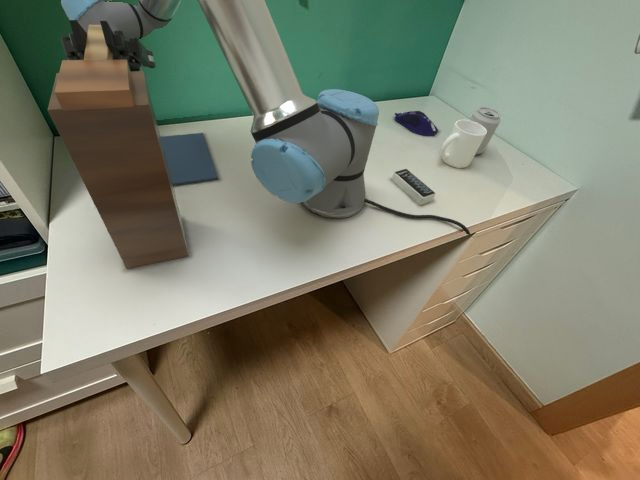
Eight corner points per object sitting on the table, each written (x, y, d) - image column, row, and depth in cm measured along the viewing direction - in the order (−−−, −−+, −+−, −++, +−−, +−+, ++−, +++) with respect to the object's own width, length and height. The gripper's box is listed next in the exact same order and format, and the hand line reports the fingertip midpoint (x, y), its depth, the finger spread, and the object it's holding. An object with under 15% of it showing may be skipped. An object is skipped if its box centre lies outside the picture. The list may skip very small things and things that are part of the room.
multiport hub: (419, 205, 77) (423, 198, 76) (390, 179, 83) (393, 171, 82) (433, 200, 79) (436, 193, 78) (403, 175, 85) (406, 168, 83)
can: (458, 152, 97) (477, 113, 88) (457, 140, 102) (475, 102, 93) (483, 158, 96) (505, 120, 87) (481, 146, 101) (502, 108, 92)
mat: (154, 139, 83) (153, 137, 82) (203, 134, 87) (202, 132, 86) (161, 187, 71) (160, 185, 70) (218, 179, 75) (217, 177, 74)
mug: (443, 173, 88) (460, 139, 81) (424, 156, 93) (438, 123, 85) (475, 166, 93) (493, 133, 85) (455, 150, 98) (471, 118, 90)
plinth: (125, 229, 61) (56, 72, 41) (181, 219, 65) (143, 70, 45) (126, 269, 55) (47, 109, 35) (188, 256, 59) (148, 104, 39)
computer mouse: (431, 139, 100) (436, 127, 97) (387, 122, 105) (391, 110, 102) (440, 128, 106) (445, 116, 103) (398, 112, 110) (402, 101, 107)
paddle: (76, 39, 49) (71, 24, 48) (128, 39, 52) (124, 25, 50) (62, 110, 35) (54, 92, 34) (134, 106, 38) (129, 89, 36)
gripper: (167, 87, 66) (164, 64, 46) (77, 91, 61) (27, 66, 40) (158, 45, 64) (151, 1, 43) (63, 45, 59) (3, -6, 38)
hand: (91, 32), depth 42 cm, fingers closed on paddle, 3 cm apart
